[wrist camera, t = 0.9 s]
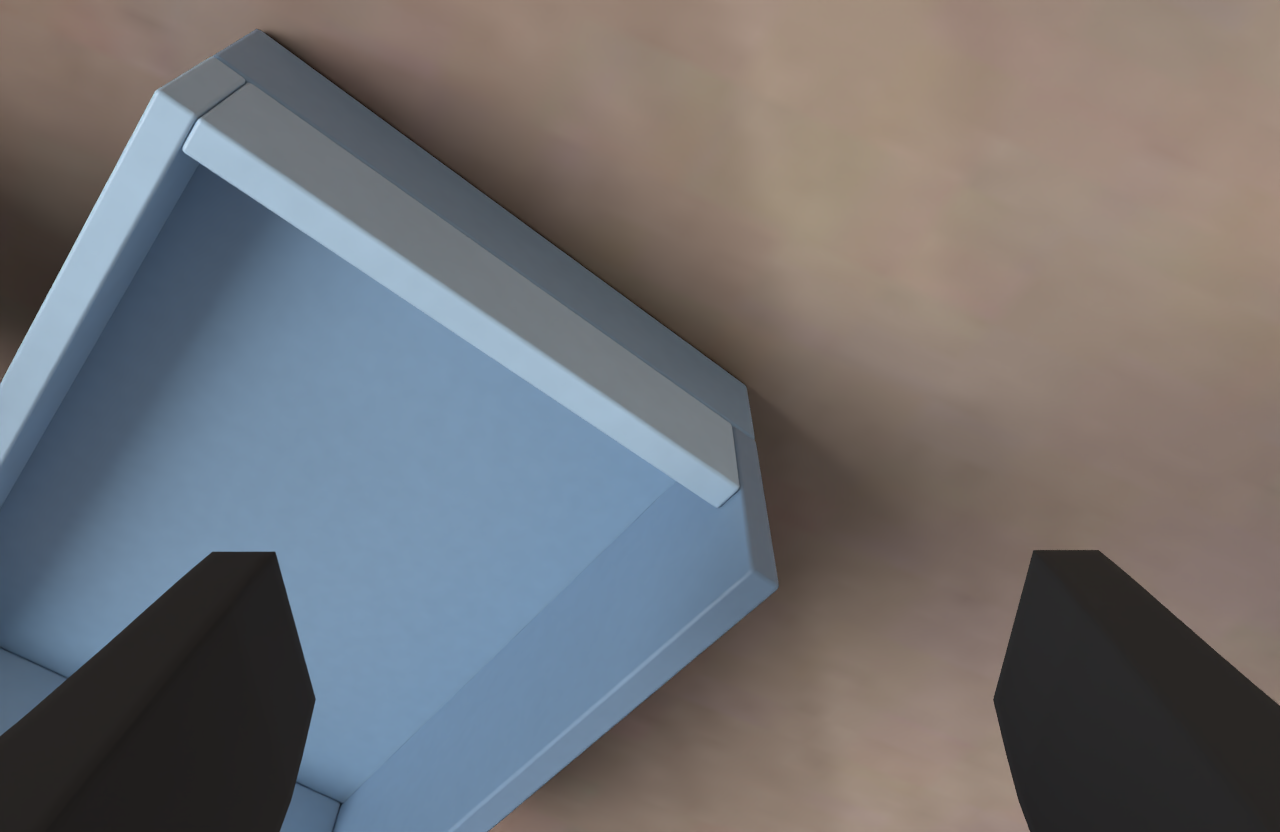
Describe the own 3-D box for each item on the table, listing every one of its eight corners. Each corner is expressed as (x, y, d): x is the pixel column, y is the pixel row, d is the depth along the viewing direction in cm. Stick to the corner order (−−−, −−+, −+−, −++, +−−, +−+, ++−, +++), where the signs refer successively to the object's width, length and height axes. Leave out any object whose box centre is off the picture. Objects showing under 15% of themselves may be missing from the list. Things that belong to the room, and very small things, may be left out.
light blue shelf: (370, 757, 26) (304, 987, 21) (-44, 558, 23) (-243, 779, 18) (748, 385, 20) (781, 589, 15) (257, 25, 16) (81, 133, 11)
